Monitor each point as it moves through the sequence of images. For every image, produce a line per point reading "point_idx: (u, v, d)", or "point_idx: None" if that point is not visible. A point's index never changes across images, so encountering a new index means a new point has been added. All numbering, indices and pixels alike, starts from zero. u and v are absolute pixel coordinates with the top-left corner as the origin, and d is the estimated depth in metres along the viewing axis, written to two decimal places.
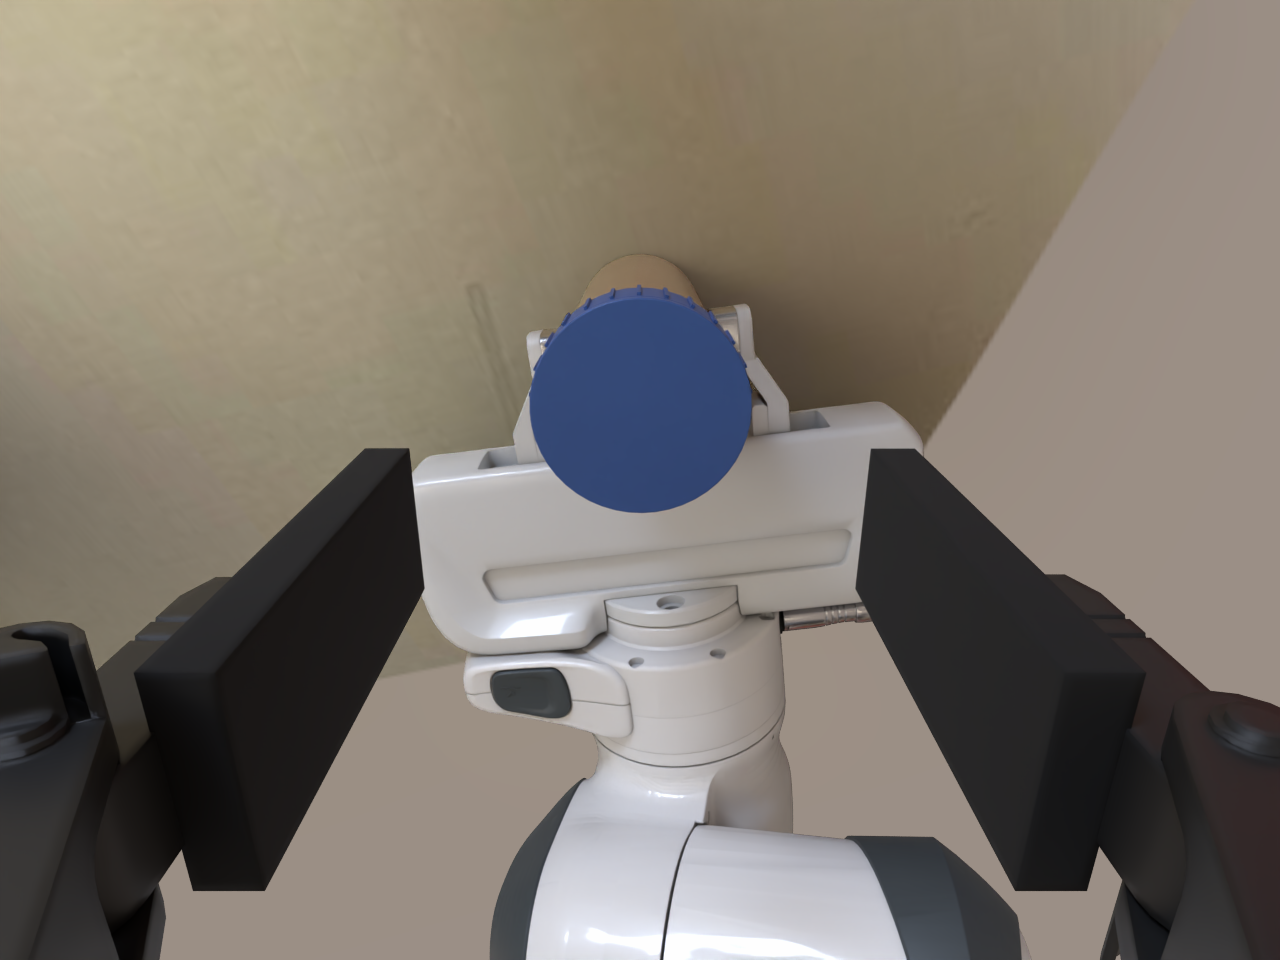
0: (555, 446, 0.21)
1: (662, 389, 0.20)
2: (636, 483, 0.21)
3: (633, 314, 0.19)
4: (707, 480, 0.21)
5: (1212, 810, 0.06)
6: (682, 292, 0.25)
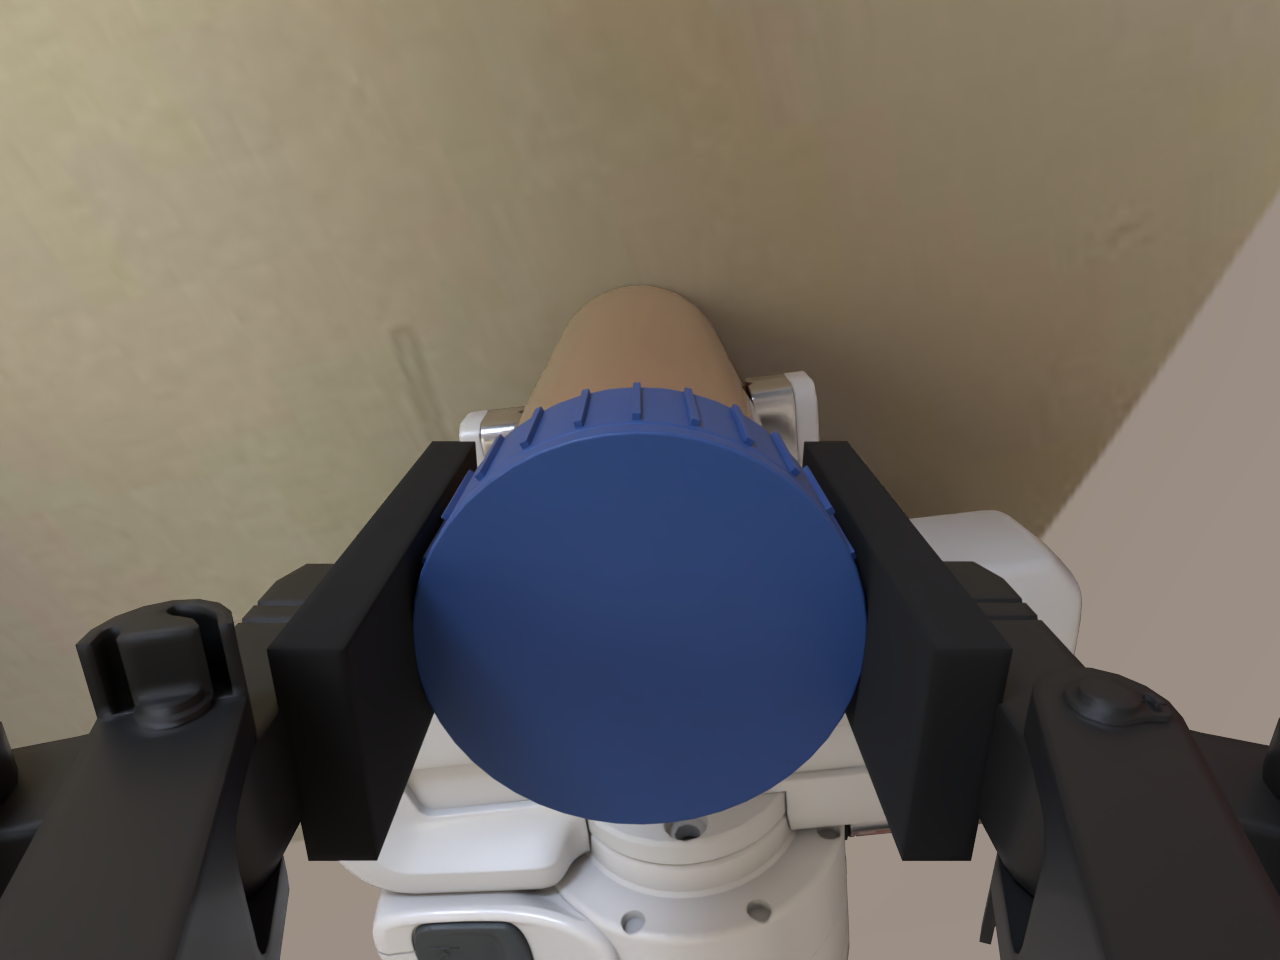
0: (469, 711, 0.10)
1: (684, 609, 0.10)
2: (631, 775, 0.11)
3: (624, 464, 0.09)
4: (771, 770, 0.11)
5: (1065, 783, 0.06)
6: (711, 371, 0.14)
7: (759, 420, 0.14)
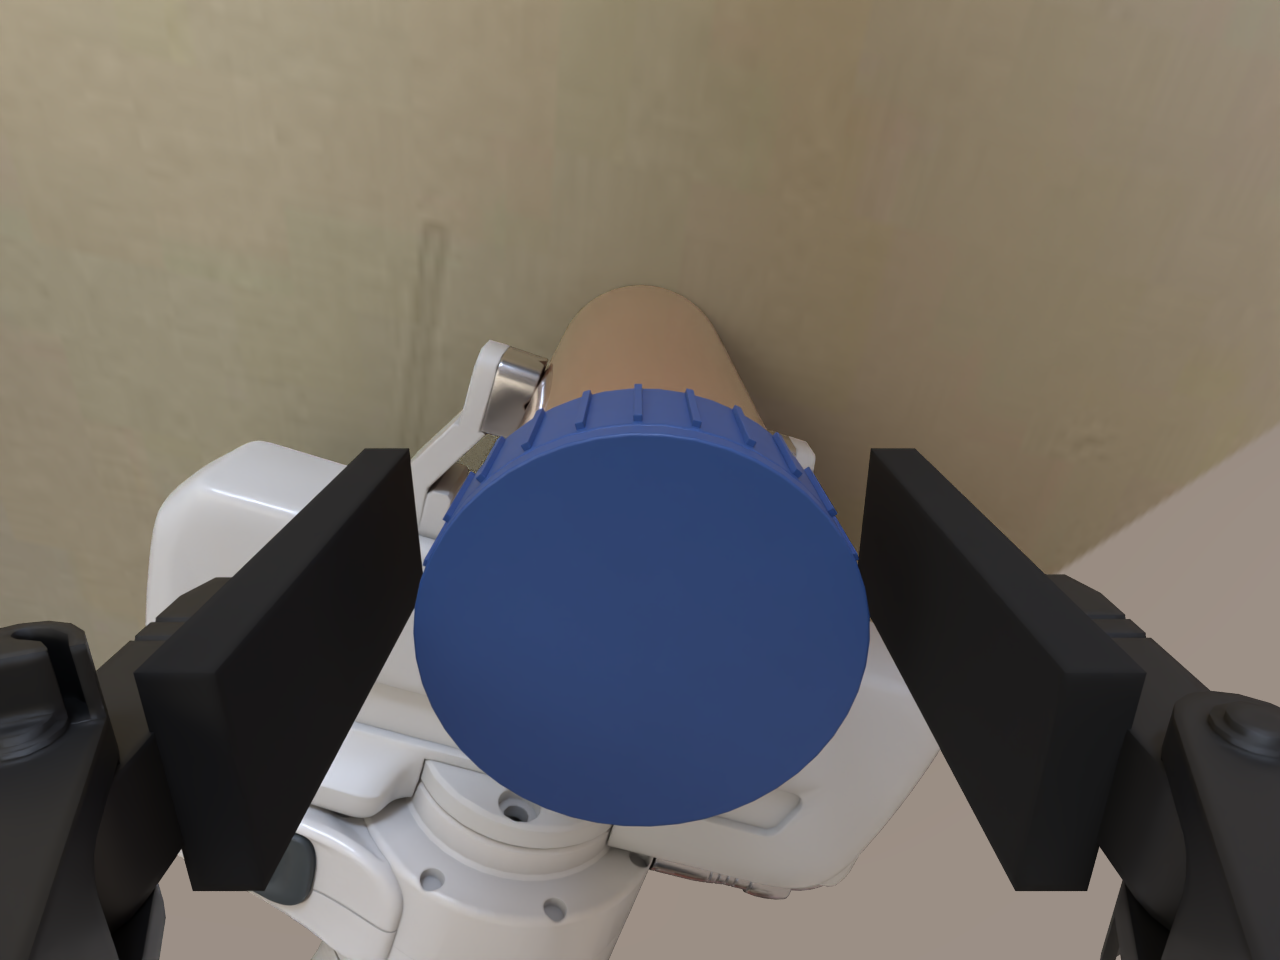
0: (648, 802, 0.11)
1: (613, 601, 0.10)
2: (782, 704, 0.10)
3: (448, 601, 0.10)
4: (840, 581, 0.10)
5: (1212, 810, 0.06)
6: (756, 410, 0.15)
7: None
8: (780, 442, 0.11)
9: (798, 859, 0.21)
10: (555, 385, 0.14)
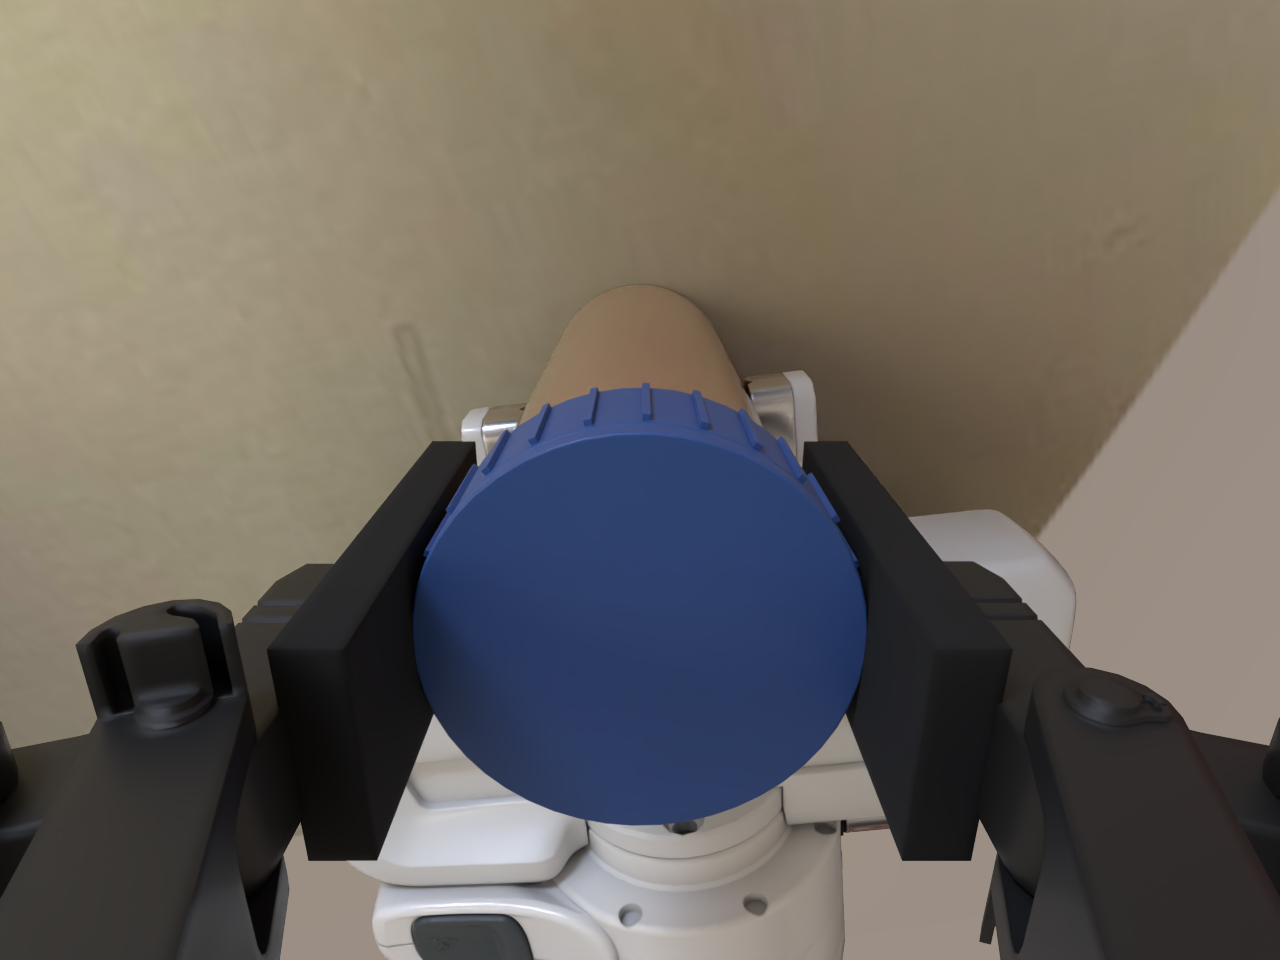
0: (722, 784, 0.11)
1: (589, 615, 0.10)
2: (798, 647, 0.10)
3: (448, 674, 0.10)
4: (790, 509, 0.09)
5: (1064, 783, 0.06)
6: (711, 369, 0.15)
7: (758, 418, 0.14)
8: (695, 399, 0.10)
9: None
10: None
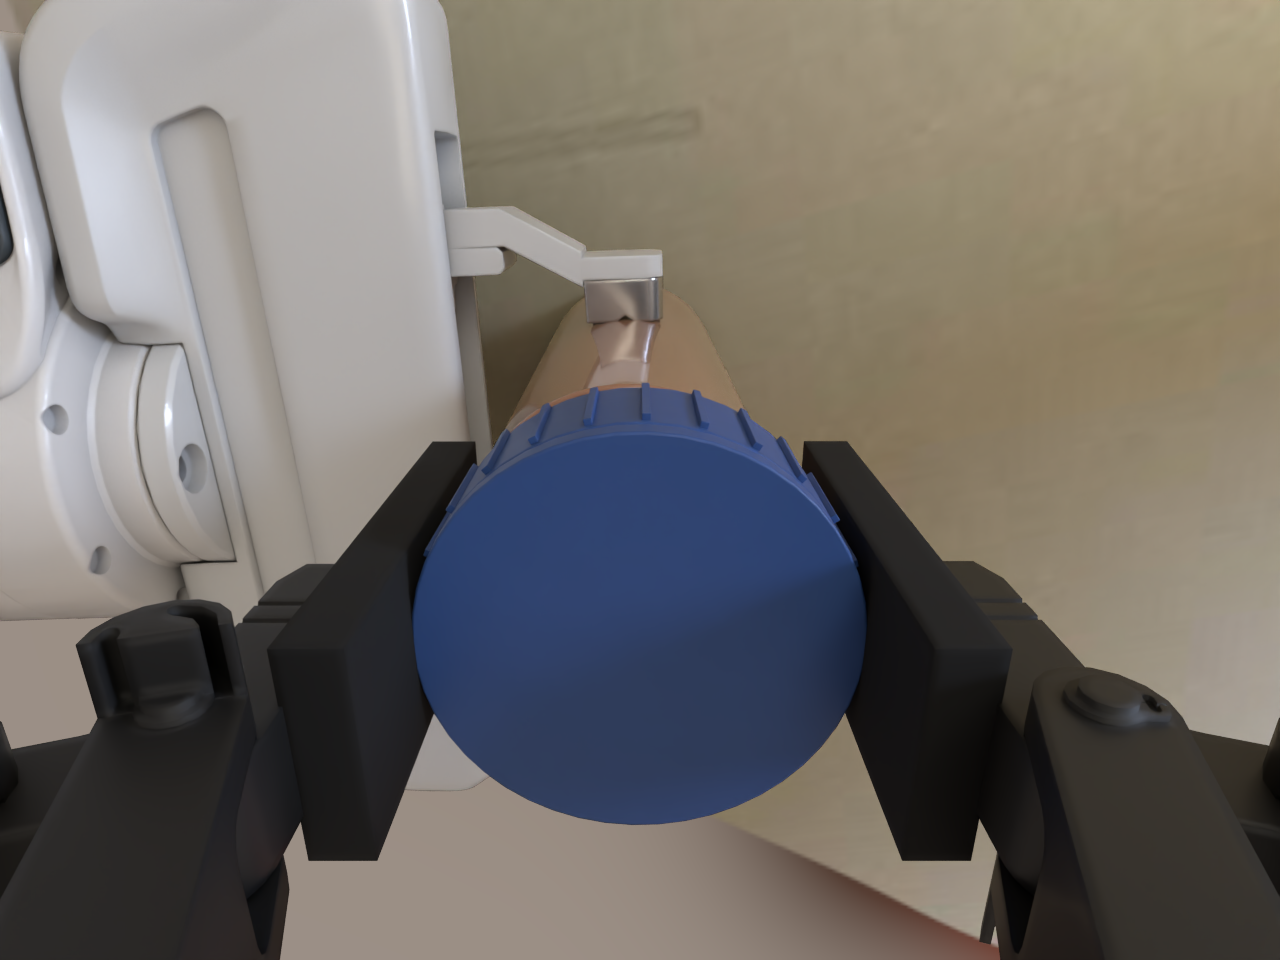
0: (722, 784, 0.11)
1: (589, 615, 0.10)
2: (798, 646, 0.10)
3: (448, 674, 0.10)
4: (789, 508, 0.09)
5: (1065, 783, 0.06)
6: None
7: None
8: (694, 399, 0.10)
9: None
10: (709, 375, 0.15)
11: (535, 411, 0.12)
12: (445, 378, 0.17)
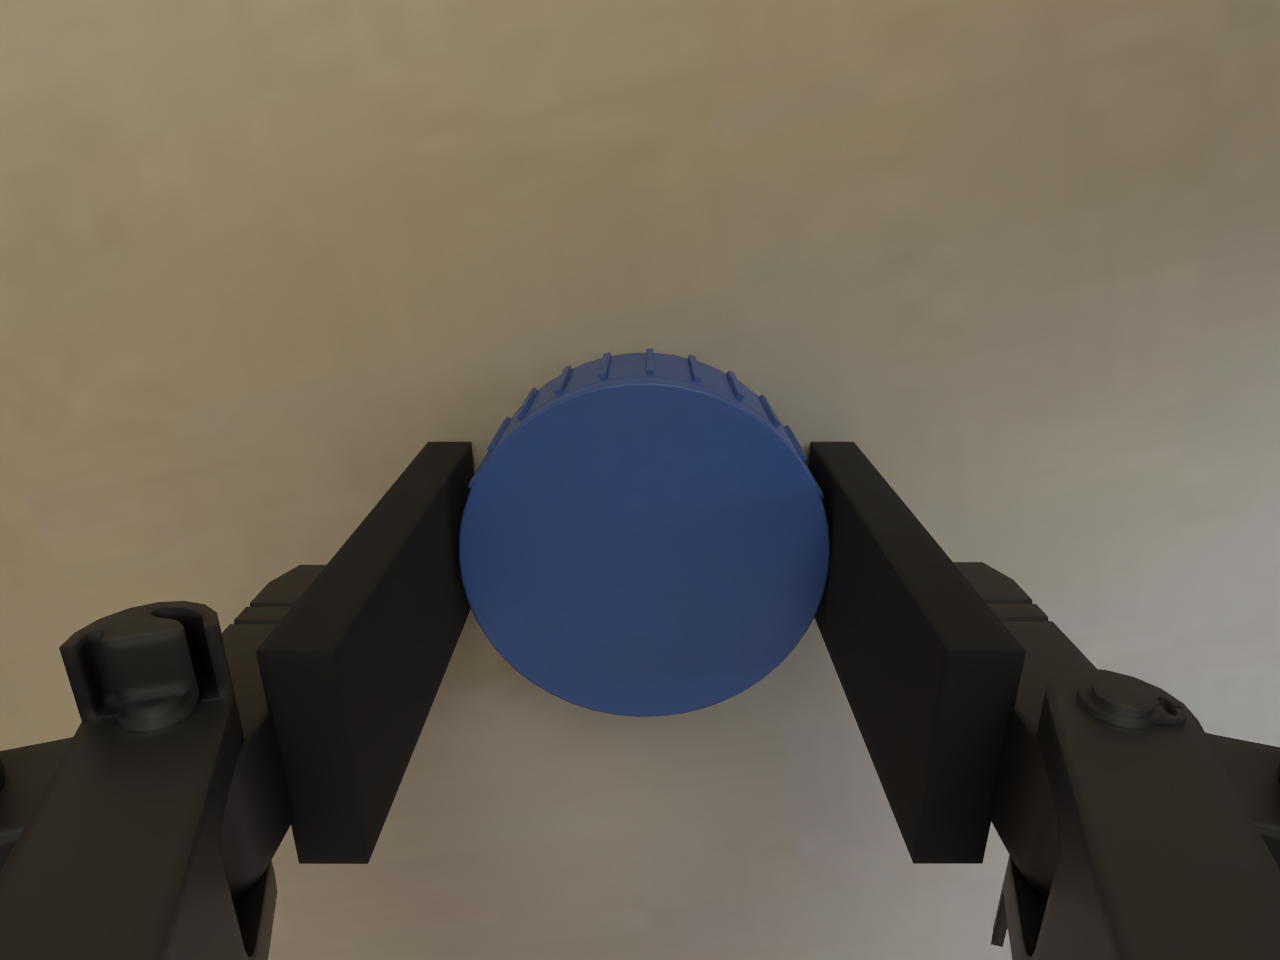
0: (711, 681, 0.13)
1: (603, 534, 0.12)
2: (773, 562, 0.12)
3: (487, 584, 0.12)
4: (765, 446, 0.12)
5: (1080, 785, 0.06)
6: None
7: None
8: (690, 361, 0.13)
9: None
10: None
11: None
12: None
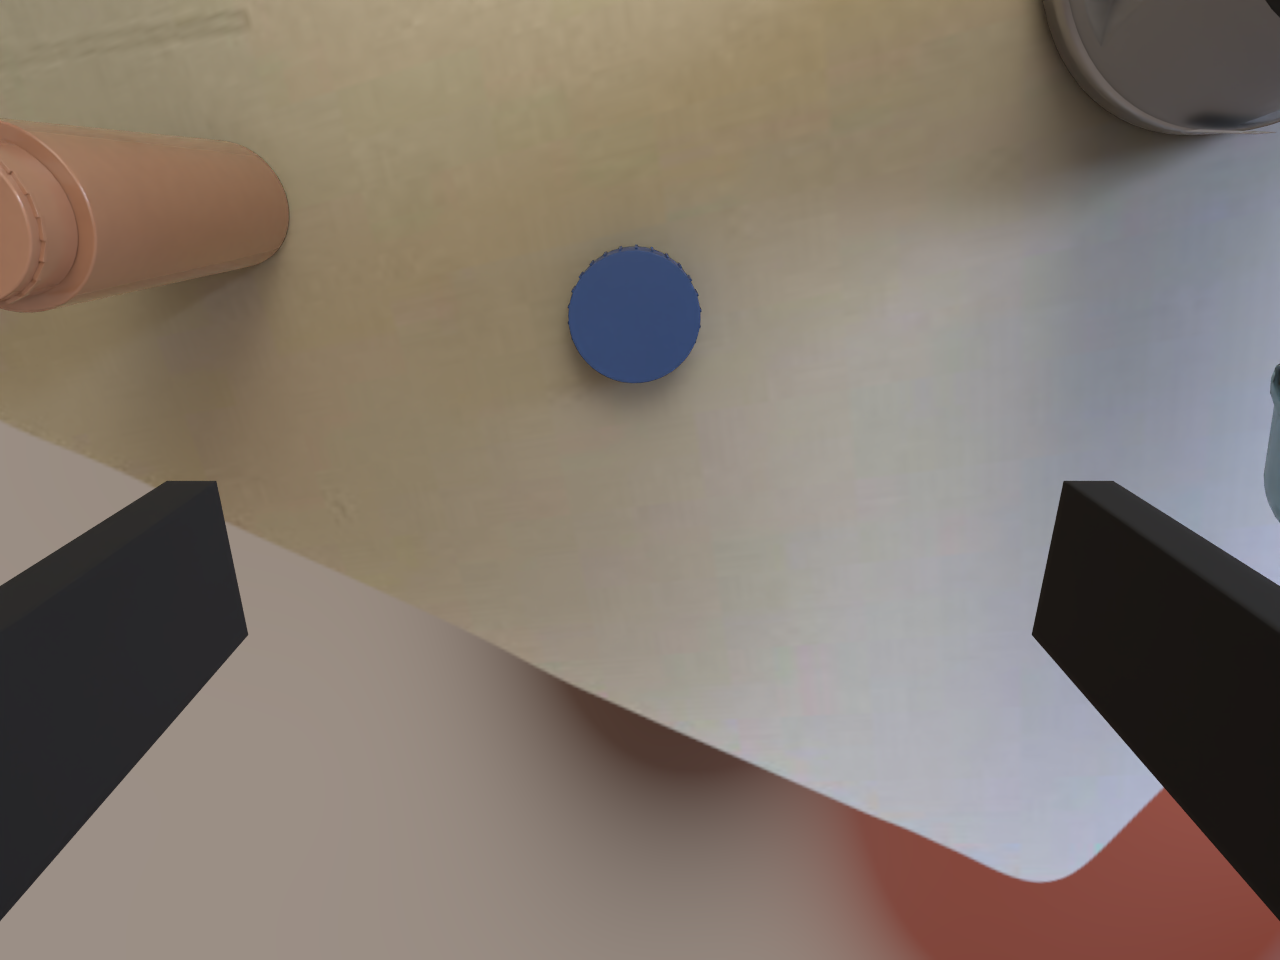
0: (659, 367, 0.35)
1: (620, 307, 0.34)
2: (680, 317, 0.34)
3: (578, 327, 0.35)
4: (675, 273, 0.34)
5: None
6: (154, 263, 0.26)
7: (123, 289, 0.26)
8: (651, 248, 0.35)
9: None
10: (93, 139, 0.24)
11: None
12: None
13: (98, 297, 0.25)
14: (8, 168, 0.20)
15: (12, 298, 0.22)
